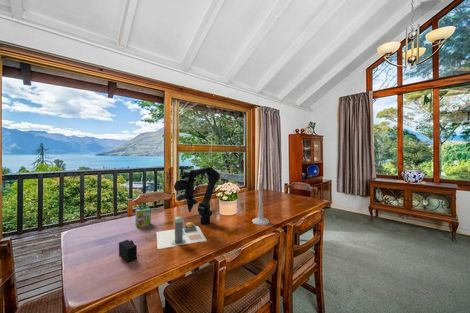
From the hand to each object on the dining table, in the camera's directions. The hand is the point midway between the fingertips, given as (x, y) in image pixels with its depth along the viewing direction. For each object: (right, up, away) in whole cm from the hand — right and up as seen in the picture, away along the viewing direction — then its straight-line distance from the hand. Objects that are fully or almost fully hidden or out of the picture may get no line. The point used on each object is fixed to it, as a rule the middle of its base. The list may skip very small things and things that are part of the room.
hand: (189, 211), depth 131 cm
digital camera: (-23, -14, -33) cm, 42 cm away
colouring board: (-3, -13, -10) cm, 16 cm away
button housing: (0, -12, 0) cm, 12 cm away
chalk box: (-35, -12, +9) cm, 39 cm away
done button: (0, -10, 0) cm, 10 cm away
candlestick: (+50, -12, +16) cm, 54 cm away
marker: (-2, -12, -18) cm, 22 cm away
